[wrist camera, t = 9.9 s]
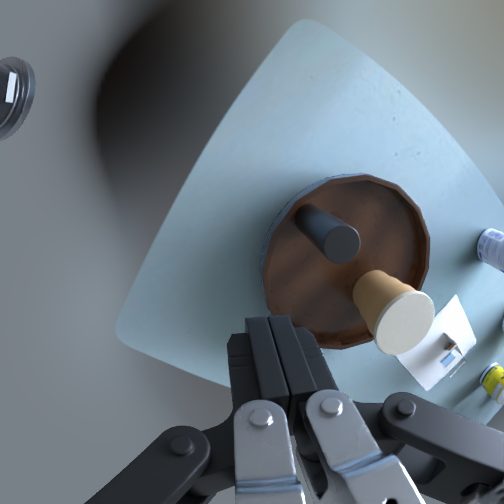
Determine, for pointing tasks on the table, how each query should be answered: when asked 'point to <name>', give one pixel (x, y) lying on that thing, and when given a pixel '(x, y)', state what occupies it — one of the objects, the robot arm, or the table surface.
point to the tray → (336, 281)
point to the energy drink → (492, 248)
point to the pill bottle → (494, 382)
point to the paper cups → (393, 311)
